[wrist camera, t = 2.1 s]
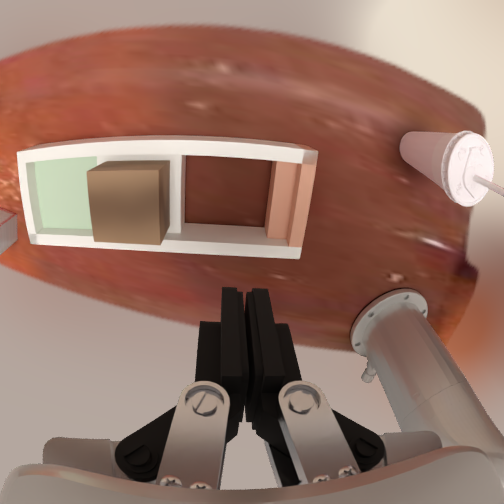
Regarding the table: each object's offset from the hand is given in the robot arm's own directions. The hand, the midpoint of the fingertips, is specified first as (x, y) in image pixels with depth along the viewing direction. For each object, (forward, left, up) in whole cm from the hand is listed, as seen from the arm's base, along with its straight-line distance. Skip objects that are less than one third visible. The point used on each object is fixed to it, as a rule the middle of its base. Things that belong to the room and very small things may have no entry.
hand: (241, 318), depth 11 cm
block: (0, +9, -16) cm, 18 cm away
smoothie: (+7, -18, -18) cm, 27 cm away
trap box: (0, +8, -18) cm, 20 cm away
